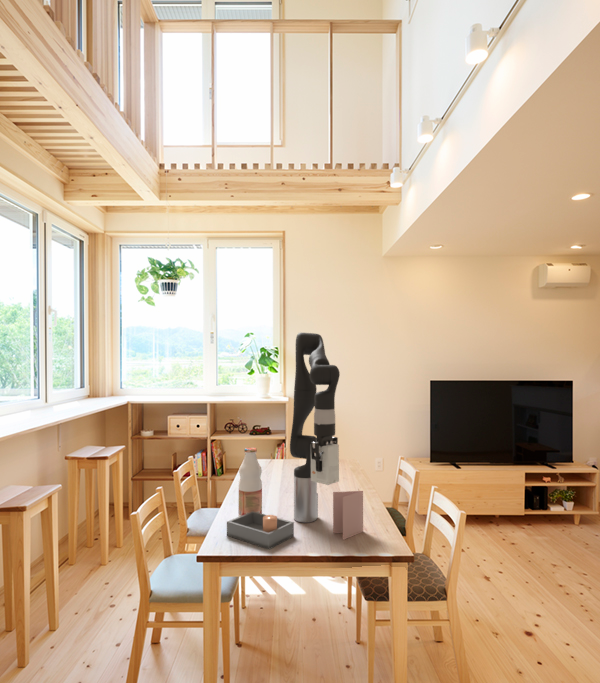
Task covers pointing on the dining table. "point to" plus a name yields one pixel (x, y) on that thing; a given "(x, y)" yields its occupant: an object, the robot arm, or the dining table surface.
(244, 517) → the tote
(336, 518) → the greeting card
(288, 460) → the dining table surface
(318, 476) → the small box
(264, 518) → the peach rounded piece
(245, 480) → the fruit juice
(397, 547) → the dining table surface
